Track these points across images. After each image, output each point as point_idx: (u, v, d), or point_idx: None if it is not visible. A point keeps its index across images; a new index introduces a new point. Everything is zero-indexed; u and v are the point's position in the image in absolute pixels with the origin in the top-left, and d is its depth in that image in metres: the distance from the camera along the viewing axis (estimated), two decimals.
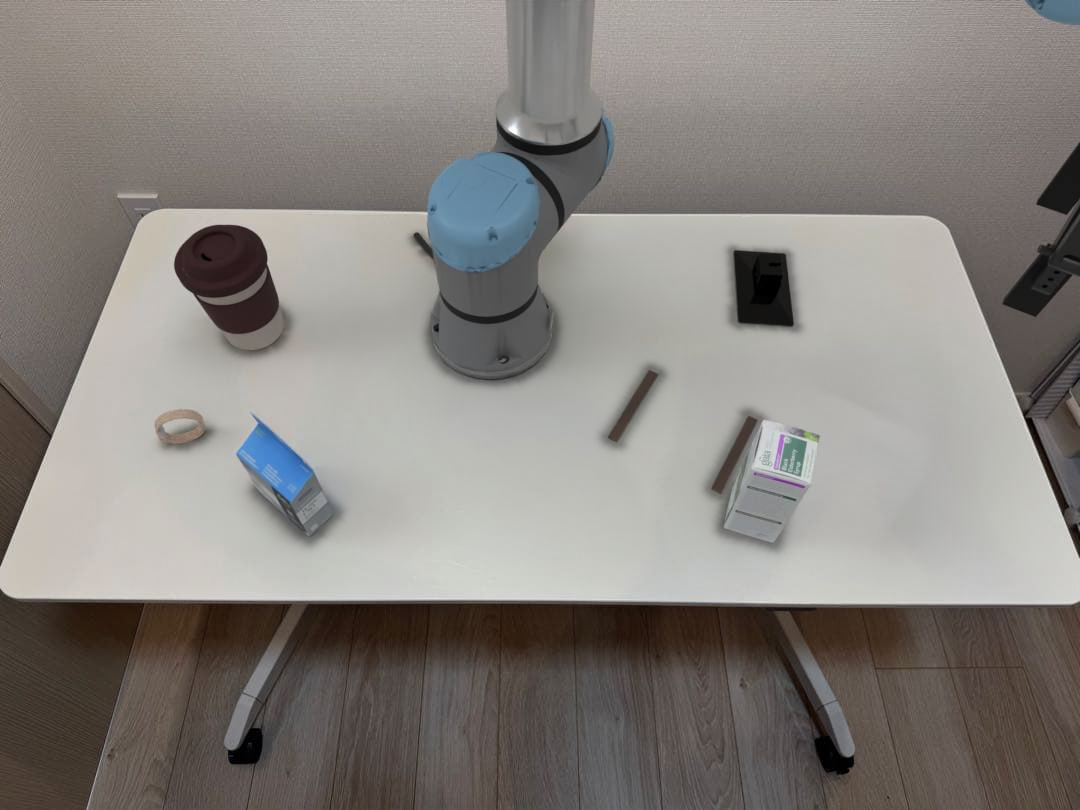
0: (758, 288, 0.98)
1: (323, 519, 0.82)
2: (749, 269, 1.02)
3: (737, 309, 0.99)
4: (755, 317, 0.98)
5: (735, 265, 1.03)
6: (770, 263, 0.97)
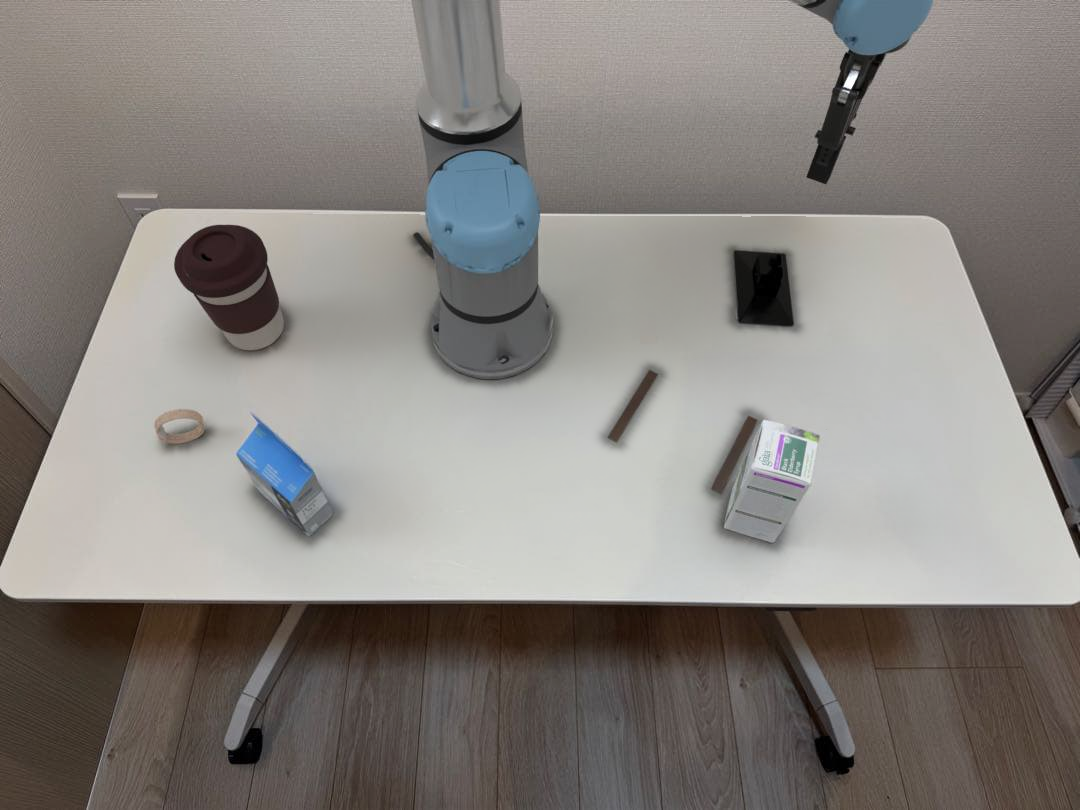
0: (758, 288, 0.98)
1: (323, 519, 0.82)
2: (749, 269, 1.02)
3: (737, 309, 0.99)
4: (755, 317, 0.98)
5: (735, 265, 1.03)
6: (770, 263, 0.97)
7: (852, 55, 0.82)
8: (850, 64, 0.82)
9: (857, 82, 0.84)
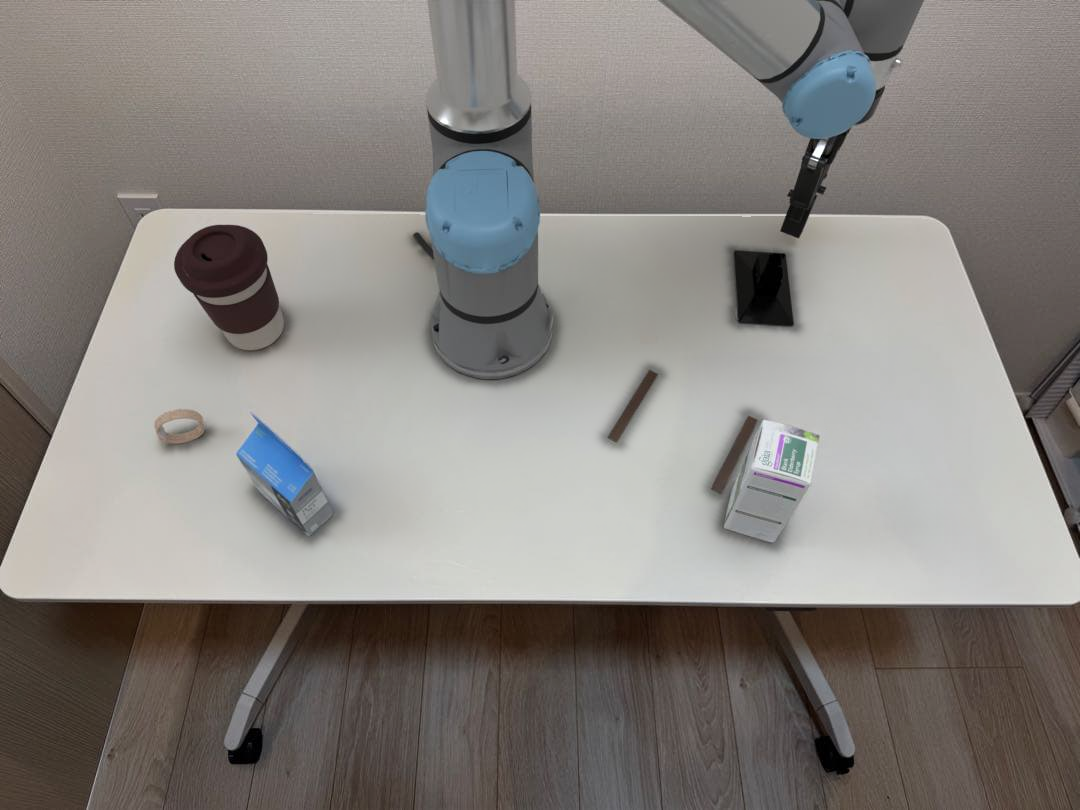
0: (758, 288, 0.98)
1: (323, 519, 0.82)
2: (749, 269, 1.02)
3: (737, 309, 0.99)
4: (755, 317, 0.98)
5: (735, 265, 1.03)
6: (770, 263, 0.97)
7: None
8: None
9: (826, 150, 0.89)
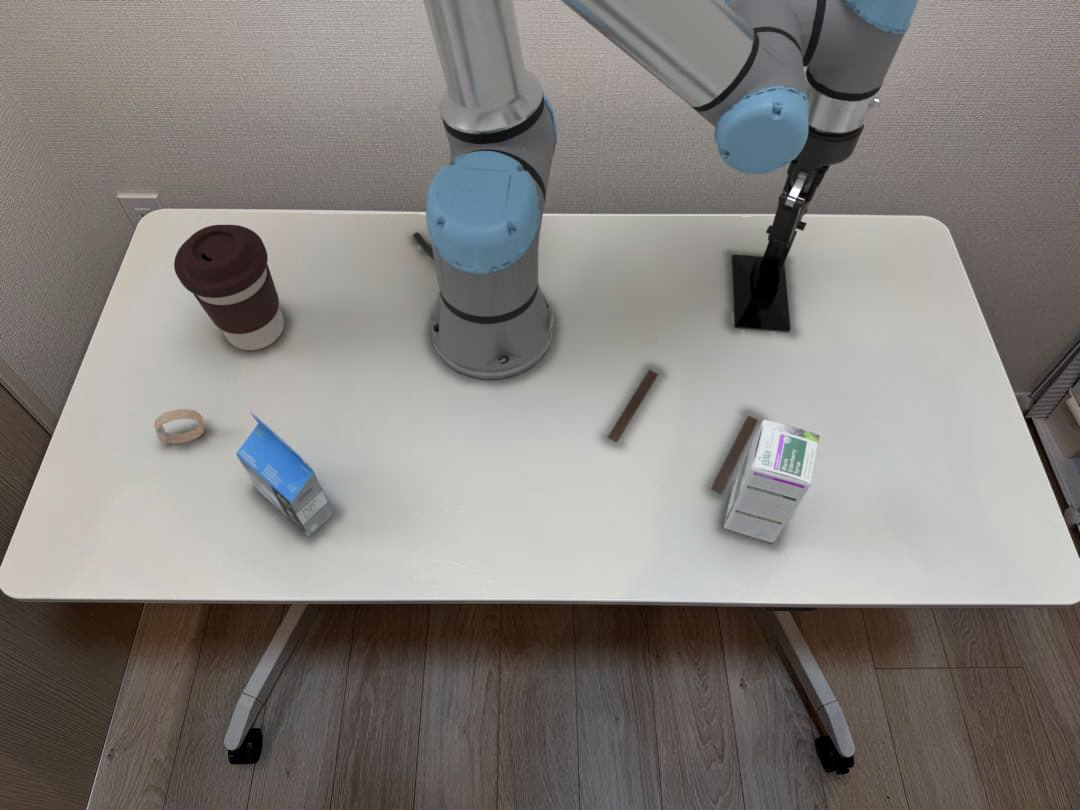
0: (755, 293, 0.98)
1: (323, 519, 0.82)
2: (747, 273, 1.01)
3: (734, 313, 0.98)
4: (751, 322, 0.97)
5: (733, 269, 1.02)
6: (767, 268, 0.97)
7: (797, 165, 0.83)
8: (796, 173, 0.83)
9: (803, 189, 0.85)
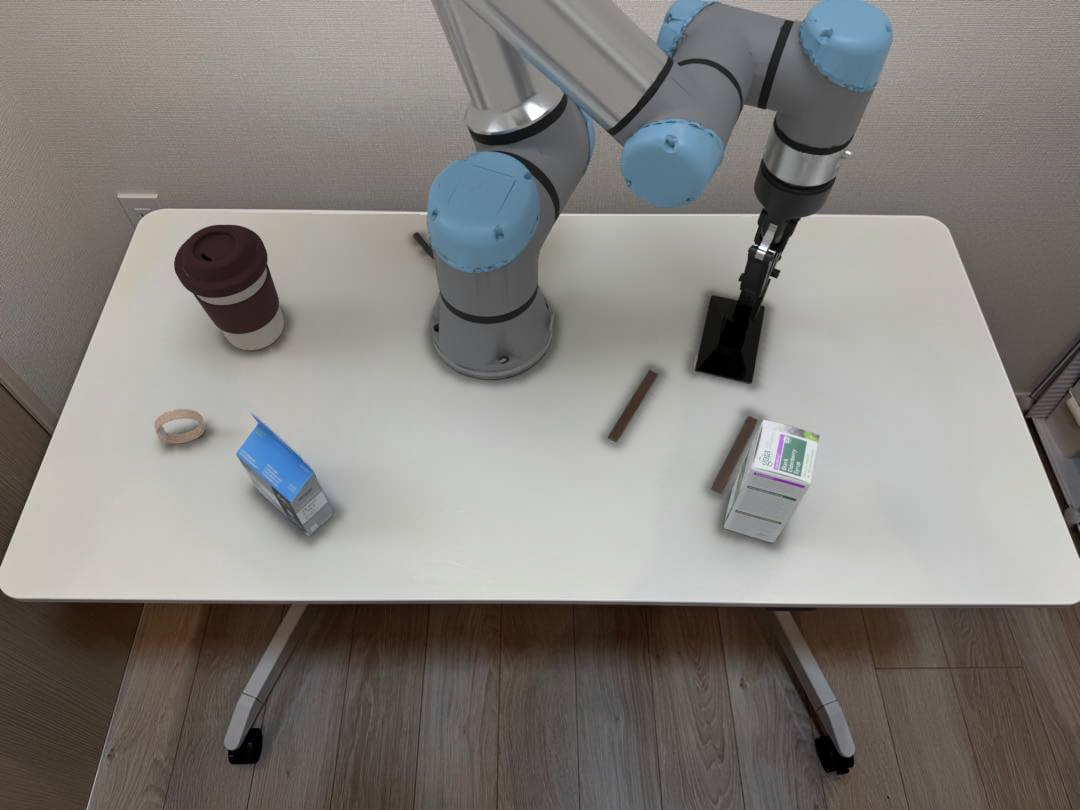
0: (722, 338, 0.94)
1: (323, 519, 0.82)
2: (721, 317, 0.97)
3: (697, 356, 0.95)
4: (713, 367, 0.94)
5: (708, 310, 0.99)
6: (738, 314, 0.93)
7: (767, 217, 0.79)
8: (765, 225, 0.79)
9: (774, 240, 0.81)
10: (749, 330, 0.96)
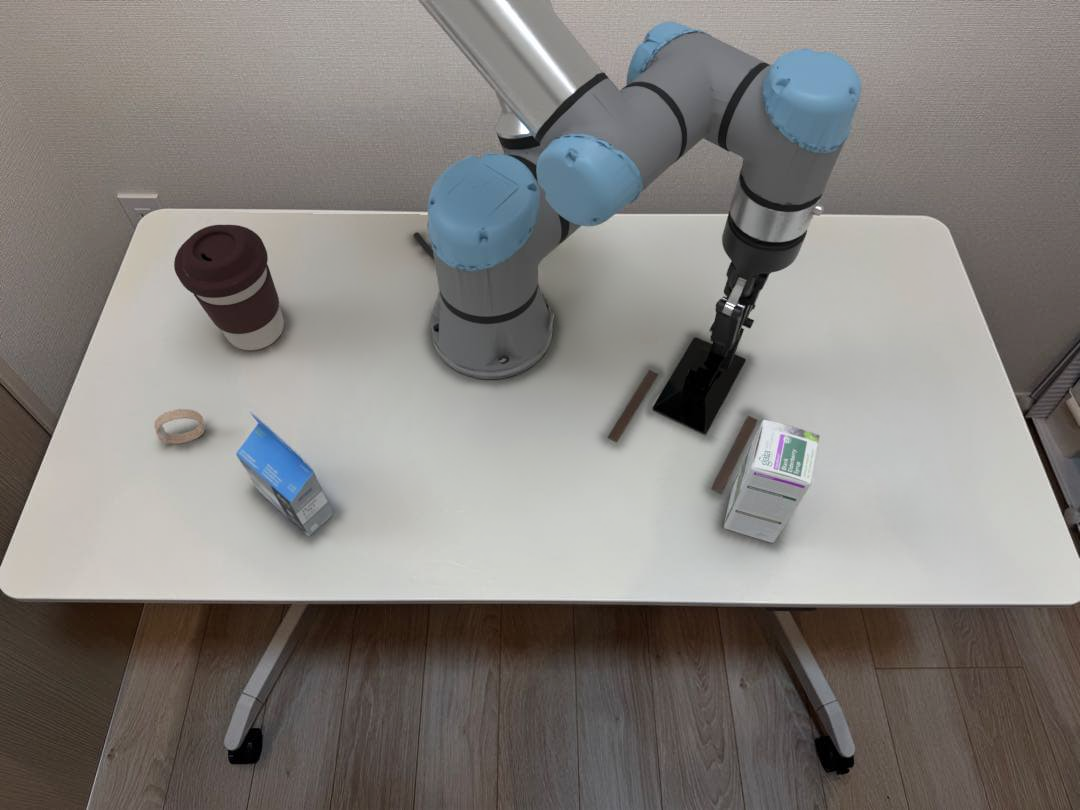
0: (686, 383, 0.90)
1: (322, 519, 0.82)
2: None
3: (659, 396, 0.92)
4: (671, 410, 0.90)
5: (686, 352, 0.95)
6: (707, 362, 0.89)
7: (735, 271, 0.75)
8: (733, 280, 0.75)
9: (744, 294, 0.77)
10: (720, 380, 0.92)
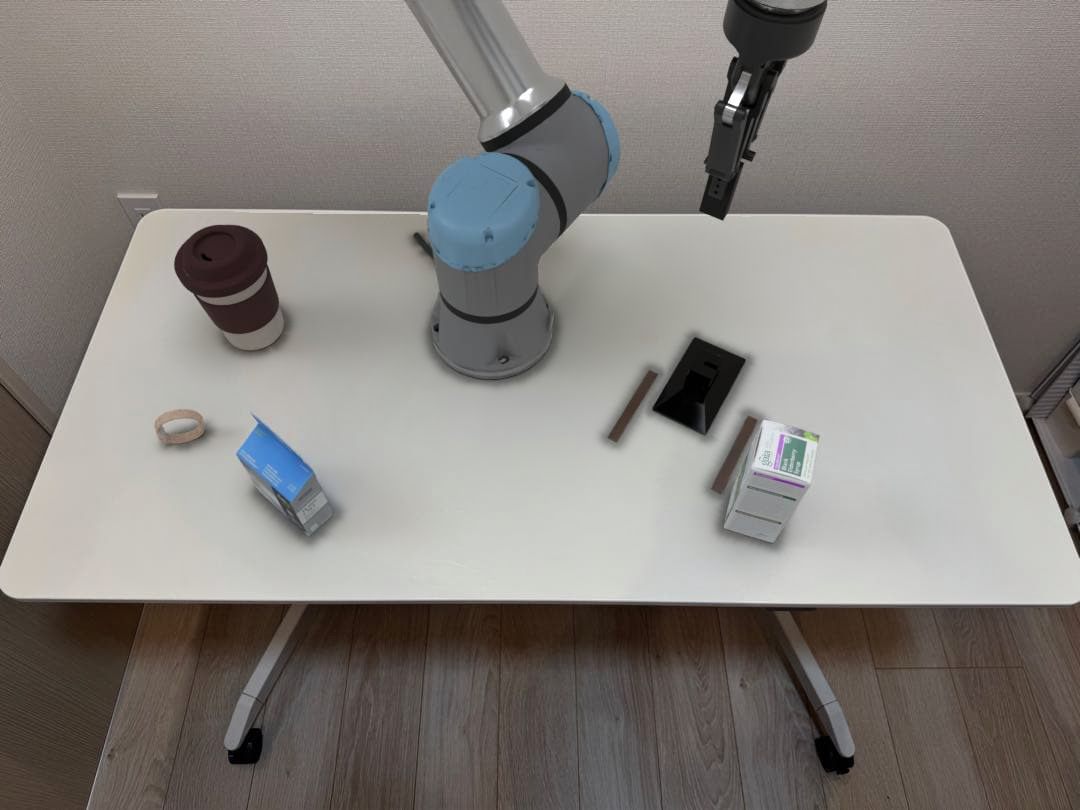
0: (686, 383, 0.90)
1: (322, 519, 0.82)
2: None
3: (659, 396, 0.92)
4: (671, 411, 0.90)
5: (686, 352, 0.95)
6: (707, 362, 0.89)
7: (739, 61, 0.62)
8: (737, 73, 0.62)
9: (748, 97, 0.64)
10: (720, 380, 0.92)
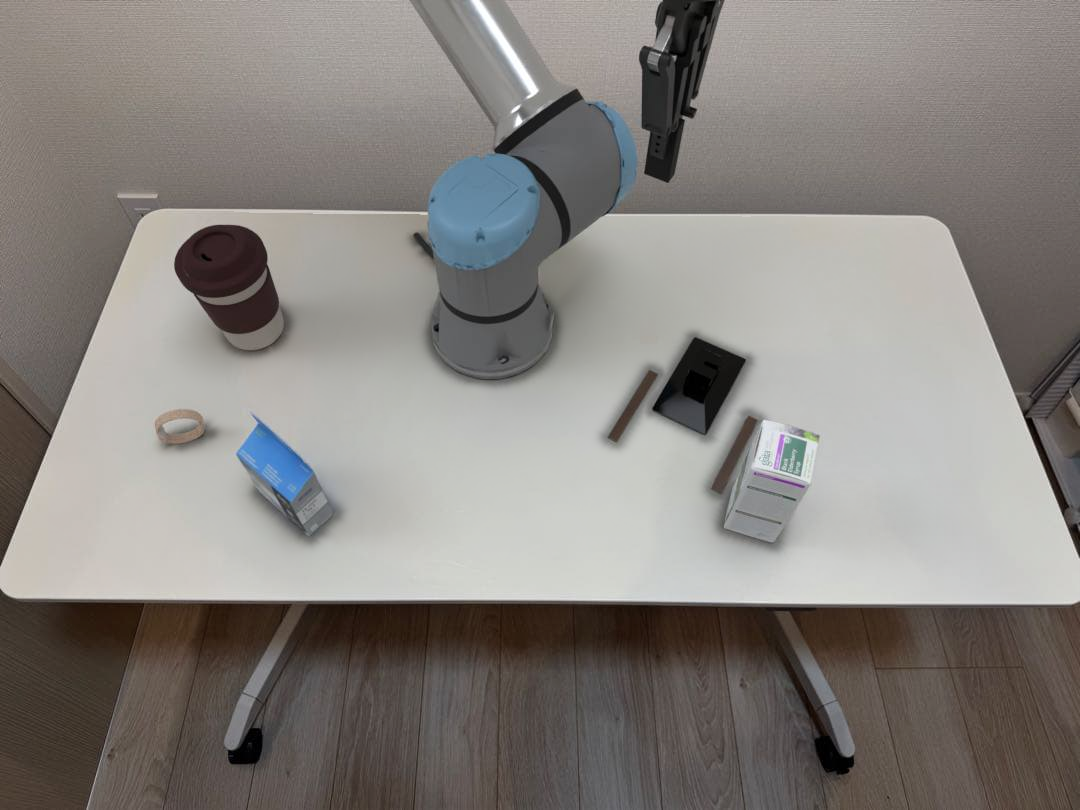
0: (686, 383, 0.90)
1: (322, 519, 0.82)
2: None
3: (659, 396, 0.92)
4: (671, 411, 0.90)
5: (686, 352, 0.95)
6: (707, 362, 0.89)
7: (662, 4, 0.59)
8: (660, 17, 0.60)
9: (675, 43, 0.62)
10: (720, 380, 0.92)
